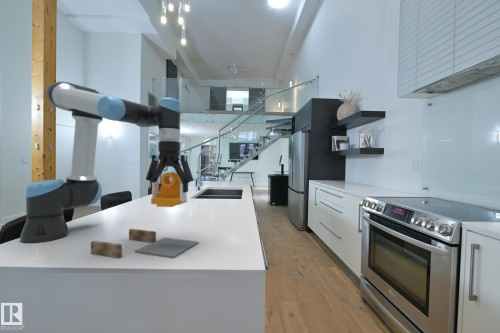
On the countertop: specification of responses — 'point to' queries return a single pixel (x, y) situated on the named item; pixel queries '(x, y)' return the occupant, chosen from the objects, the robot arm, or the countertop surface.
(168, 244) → the mat
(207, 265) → the countertop surface
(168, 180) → the bracket
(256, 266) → the countertop surface
